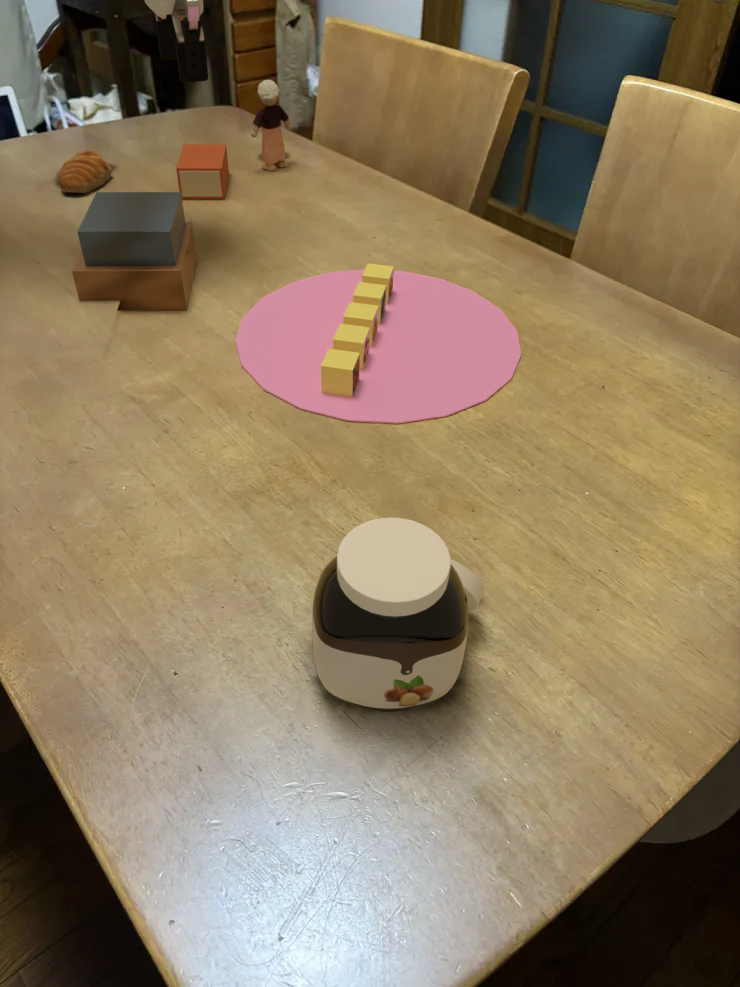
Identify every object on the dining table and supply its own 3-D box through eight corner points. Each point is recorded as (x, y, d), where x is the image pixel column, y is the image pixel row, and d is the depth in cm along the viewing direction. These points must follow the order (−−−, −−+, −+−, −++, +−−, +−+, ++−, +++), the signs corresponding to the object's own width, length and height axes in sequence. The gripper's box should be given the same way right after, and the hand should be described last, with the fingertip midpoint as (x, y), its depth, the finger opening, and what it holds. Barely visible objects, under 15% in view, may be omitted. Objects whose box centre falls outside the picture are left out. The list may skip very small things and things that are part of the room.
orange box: (180, 199, 111) (176, 168, 108) (187, 173, 118) (183, 144, 115) (224, 199, 112) (221, 168, 108) (229, 173, 119) (226, 144, 116)
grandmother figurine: (278, 157, 125) (274, 72, 116) (296, 163, 123) (293, 77, 114) (247, 170, 120) (240, 83, 111) (265, 176, 118) (260, 88, 110)
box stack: (80, 311, 87) (61, 236, 81) (101, 259, 96) (85, 189, 90) (187, 310, 88) (176, 235, 82) (198, 259, 97) (188, 189, 91)
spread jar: (311, 717, 50) (305, 607, 42) (319, 585, 58) (315, 472, 50) (491, 719, 50) (519, 610, 42) (473, 587, 58) (494, 475, 50)
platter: (191, 398, 75) (186, 369, 73) (282, 257, 98) (280, 232, 96) (511, 445, 71) (517, 417, 69) (528, 287, 94) (533, 262, 92)
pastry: (94, 198, 110) (87, 172, 108) (49, 196, 111) (42, 169, 108) (115, 175, 117) (110, 149, 115) (73, 172, 118) (67, 147, 115)
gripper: (108, -124, 82) (137, 54, 93) (141, -107, 70) (169, 93, 82) (177, -124, 84) (197, 49, 96) (219, -108, 73) (235, 87, 84)
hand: (184, 69), depth 89 cm, fingers open, 9 cm apart
